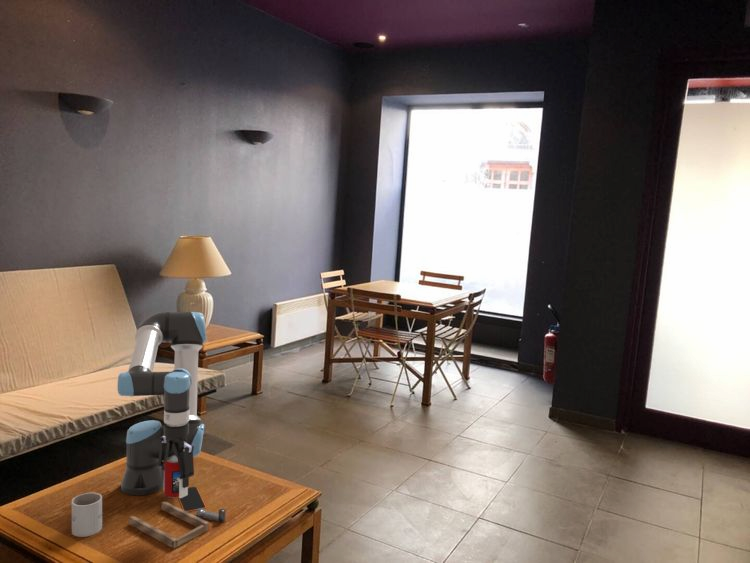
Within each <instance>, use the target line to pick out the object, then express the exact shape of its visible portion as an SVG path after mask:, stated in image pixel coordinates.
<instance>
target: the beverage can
mask: <svg viewBox="0 0 750 563" xmlns="http://www.w3.org/2000/svg"><path fill="white" fill-rule="evenodd" d="M184 474H185V473H184ZM180 477H181V473H180V468H179V463H178V459H177V457H176V456H175V455H172V456H169V457H168V458H167V460H166V462H165V464H164V487H163V492H164V495H165V496H166V497H168V498H171V499H177V498H178V497H179V478H180Z"/></svg>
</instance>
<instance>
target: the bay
mask: <svg viewBox="0 0 750 563" xmlns="http://www.w3.org/2000/svg"><path fill="white" fill-rule="evenodd" d="M161 511H165V513H168V514H170V515H172V516H175V517H176V518H178V519H180V520H182V521H184V522H186V523H188V524H191V525H192V526H195V528H193V529H191V530H190V531H188V532H186V533H184V534H182V535H179V536H178V537H174V536H172V535H171V534H169V533H167V532H165V531H163V530H161V529H159V528H157V527H155V526H153V525H151V524H149V523H148V522H146V521H144V520H142V519H140V518H138V517H137V516H135V515H131V516H129V525H130V526H132V527H133V528H135V529H137V530H139V531H141V532H142V533H144V534H146V535H148V536H150V537H151V538H154V539H156V540H157V541H159V542H161V543H162V544H164V545H166V546H168V547H170V548H172V549H176V548H178V547H180V546H181V545H183V544H185V543H187V542H189V541H191V540H193V539H194V538H197V537H198V536H200V535H202V534H204V533H206V532H208V531H209V529H210V522H209V521H207V520H205V519H203V518H202V517H197V516H196V514H192V513H191V512H186V511H184V510H183V509H182V508H180V507H178V506H176V505H173V504H171V503H169V502H167V501H165V500H164V501H162V502H161Z"/></svg>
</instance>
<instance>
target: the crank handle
mask: <svg viewBox="0 0 750 563" xmlns="http://www.w3.org/2000/svg"><path fill="white" fill-rule="evenodd" d="M226 511H227V510H226V509H225V508H220V509H218V513H217V512H214V511H213V512H212V511H209V510H206V509H203V508H198V509H197V510H196V511H195V516H197V517H199V518H202V519H203V518H204V519H208V520H212V521H216V522H218V523H225V522H226V514H227V513H226Z"/></svg>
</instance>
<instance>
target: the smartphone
mask: <svg viewBox="0 0 750 563" xmlns="http://www.w3.org/2000/svg"><path fill="white" fill-rule="evenodd" d="M178 501H179V503H180V506H181V509H182V510H184V511H186V512H188V513H191V512H196V510H197V509H198V508H203V509H205V510H206V509H207V506H206V504H205V501H204V500H203V498H202V494H201V493H200V491H199V488H198V487H197V486H191V487H188V495H187V496H185V497H182V498H179V497H178Z"/></svg>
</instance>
